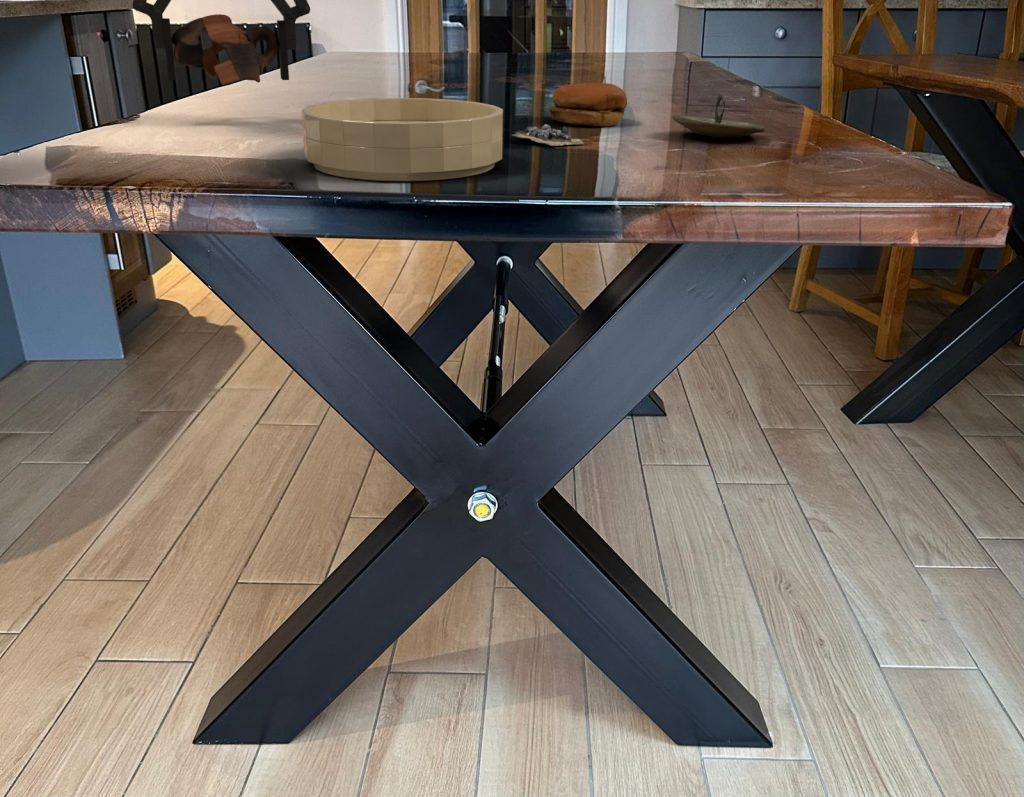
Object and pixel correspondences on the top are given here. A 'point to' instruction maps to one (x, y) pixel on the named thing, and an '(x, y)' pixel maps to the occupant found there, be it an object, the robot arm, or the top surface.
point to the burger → (589, 104)
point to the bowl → (403, 138)
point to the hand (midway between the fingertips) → (229, 79)
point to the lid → (718, 125)
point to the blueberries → (547, 136)
